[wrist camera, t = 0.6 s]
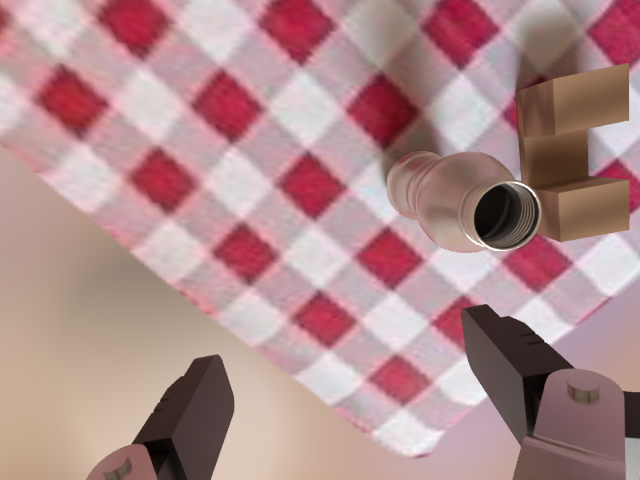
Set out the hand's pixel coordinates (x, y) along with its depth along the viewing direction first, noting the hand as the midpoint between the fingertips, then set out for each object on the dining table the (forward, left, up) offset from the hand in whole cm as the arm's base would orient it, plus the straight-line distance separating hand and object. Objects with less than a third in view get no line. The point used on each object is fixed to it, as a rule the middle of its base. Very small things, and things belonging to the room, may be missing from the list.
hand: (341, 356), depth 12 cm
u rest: (-2, +23, -28) cm, 36 cm away
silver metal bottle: (-2, +9, -28) cm, 29 cm away
